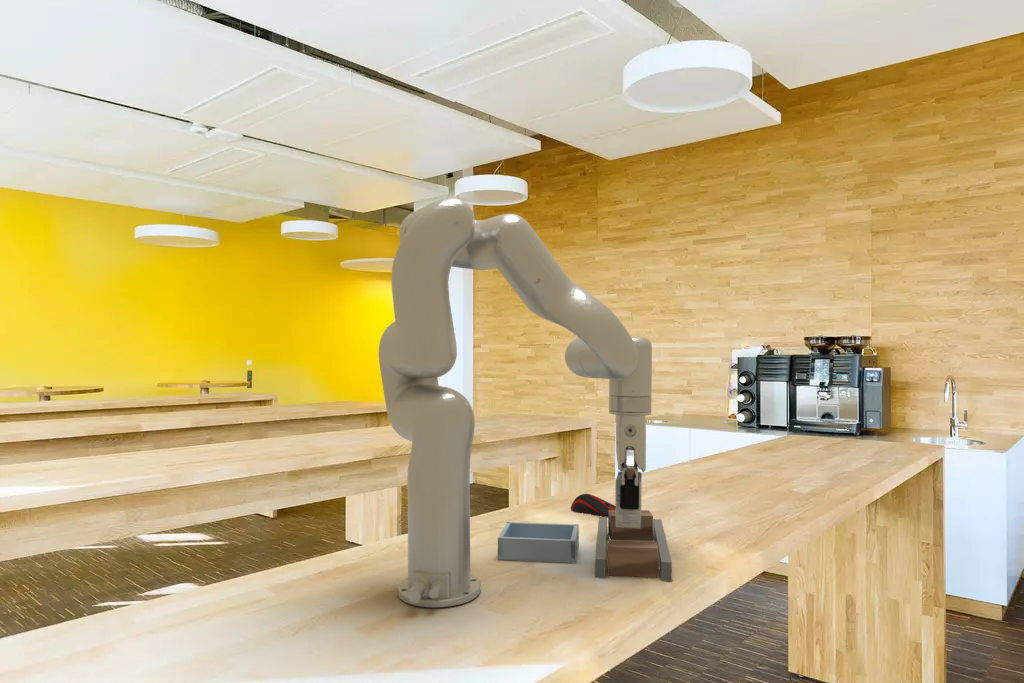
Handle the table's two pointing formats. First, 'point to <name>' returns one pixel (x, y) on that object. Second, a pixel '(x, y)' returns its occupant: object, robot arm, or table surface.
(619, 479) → the medicine box
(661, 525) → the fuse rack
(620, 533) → the far walnut block
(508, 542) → the tray
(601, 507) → the computer mouse
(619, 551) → the near walnut block
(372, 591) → the table surface
